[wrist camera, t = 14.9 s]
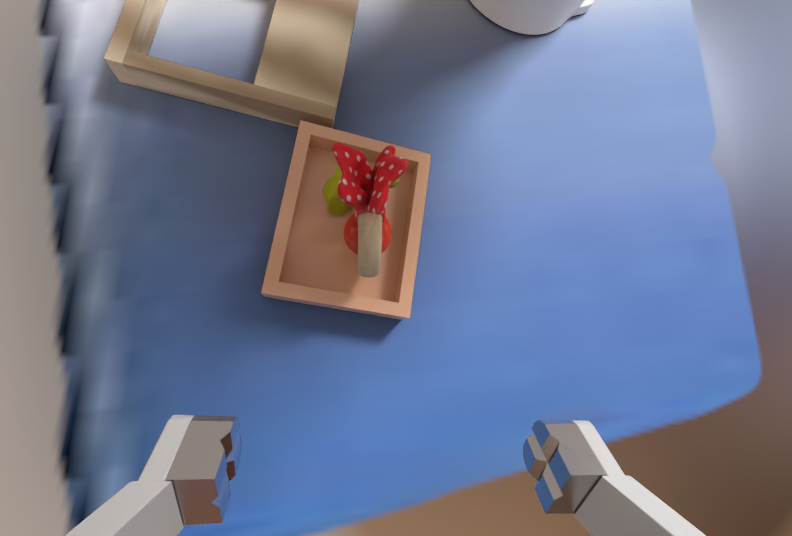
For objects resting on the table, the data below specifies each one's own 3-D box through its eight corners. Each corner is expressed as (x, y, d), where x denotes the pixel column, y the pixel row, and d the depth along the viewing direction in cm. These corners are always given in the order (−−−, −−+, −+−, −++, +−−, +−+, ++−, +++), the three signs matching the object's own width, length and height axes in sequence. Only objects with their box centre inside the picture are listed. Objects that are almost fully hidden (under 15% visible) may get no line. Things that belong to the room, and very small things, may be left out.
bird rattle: (397, 258, 33) (395, 153, 31) (443, 293, 23) (445, 138, 21) (326, 263, 32) (319, 153, 30) (341, 303, 21) (332, 137, 19)
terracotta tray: (300, 136, 32) (300, 120, 30) (422, 167, 34) (431, 154, 32) (264, 297, 29) (260, 292, 26) (401, 319, 31) (409, 317, 29)
